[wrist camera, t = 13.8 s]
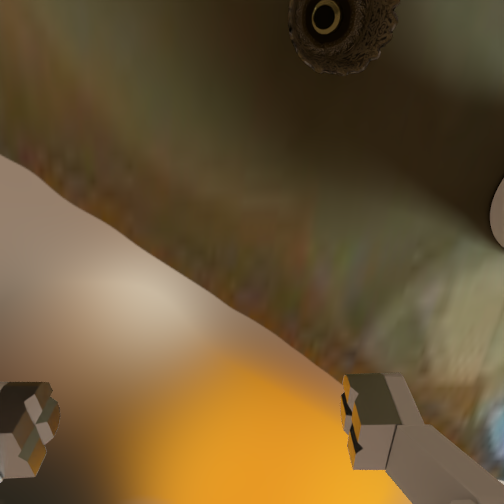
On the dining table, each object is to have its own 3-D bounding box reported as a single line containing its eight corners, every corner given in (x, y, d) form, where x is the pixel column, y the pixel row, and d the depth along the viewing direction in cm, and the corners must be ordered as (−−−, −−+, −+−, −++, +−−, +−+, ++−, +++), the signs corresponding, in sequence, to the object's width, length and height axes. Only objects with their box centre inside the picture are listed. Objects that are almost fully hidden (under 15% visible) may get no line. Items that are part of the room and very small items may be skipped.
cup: (271, 55, 35) (277, 64, 28) (291, -47, 31) (304, -66, 24) (352, 73, 35) (377, 86, 29) (381, -25, 32) (418, -37, 25)
